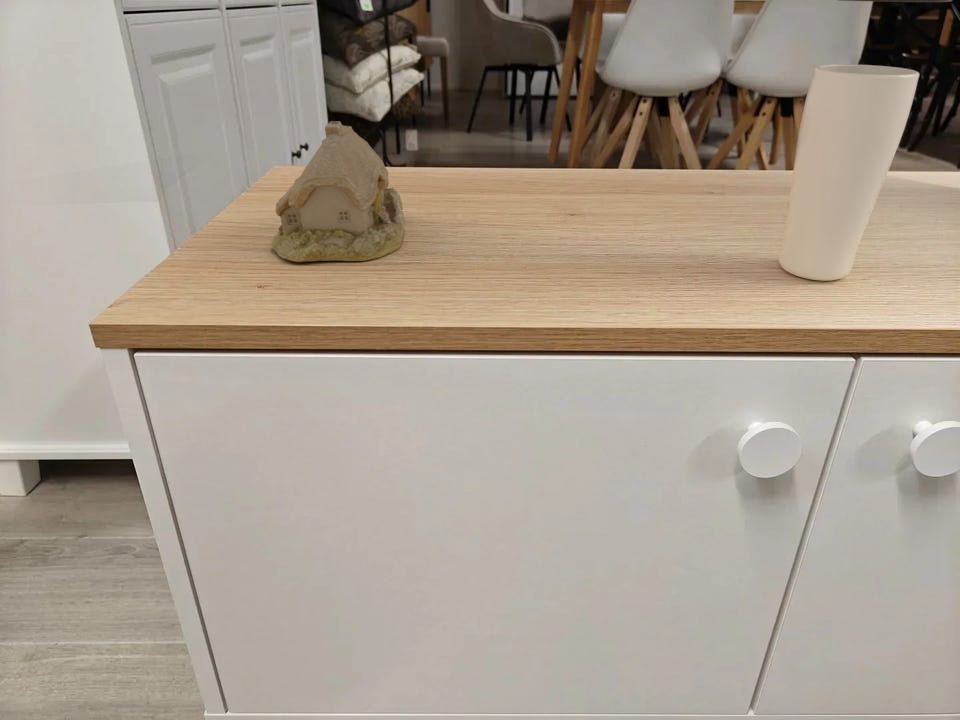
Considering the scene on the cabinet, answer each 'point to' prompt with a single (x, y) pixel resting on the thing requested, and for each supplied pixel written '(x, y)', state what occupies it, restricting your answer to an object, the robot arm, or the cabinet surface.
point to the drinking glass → (842, 163)
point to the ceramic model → (340, 204)
